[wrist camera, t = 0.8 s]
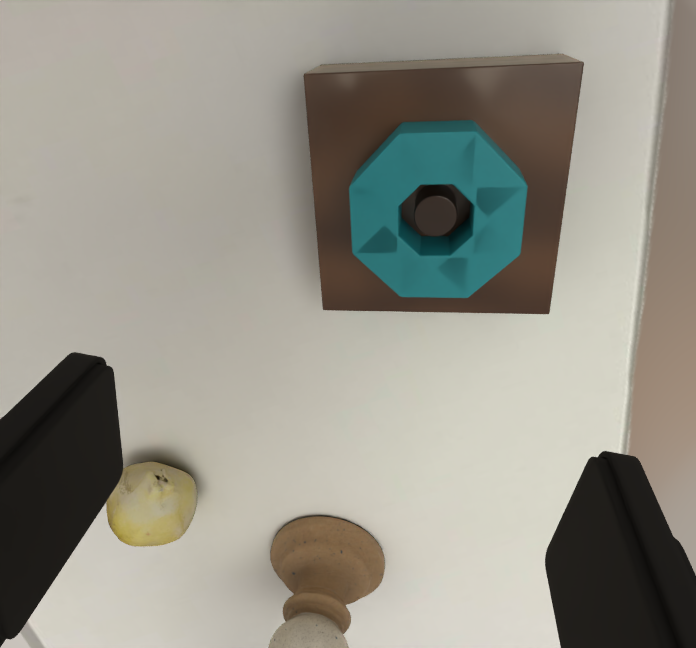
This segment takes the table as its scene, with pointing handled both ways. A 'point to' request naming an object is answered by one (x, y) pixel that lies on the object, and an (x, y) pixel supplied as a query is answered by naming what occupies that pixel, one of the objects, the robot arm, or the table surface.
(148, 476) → the fruit
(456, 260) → the ring
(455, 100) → the platform
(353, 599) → the candle holder
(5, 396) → the table surface
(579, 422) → the table surface
